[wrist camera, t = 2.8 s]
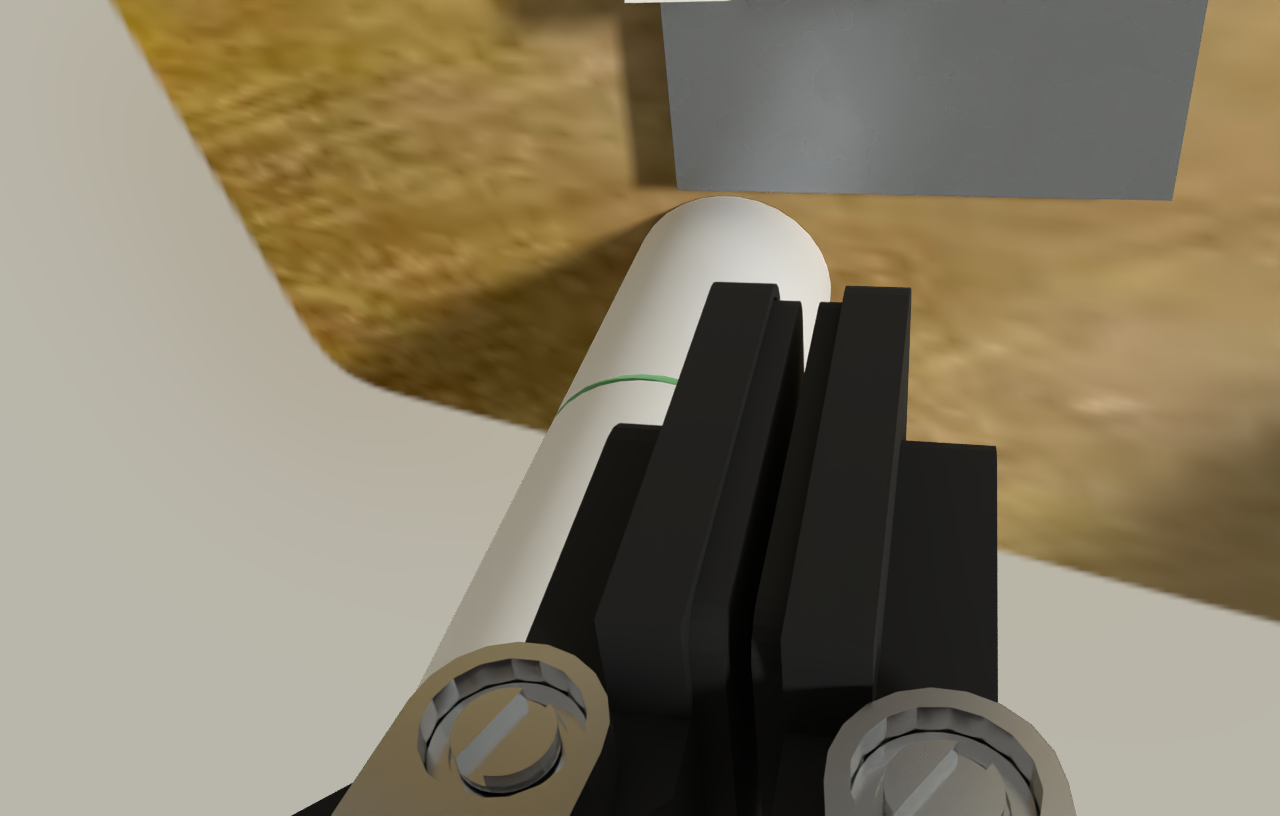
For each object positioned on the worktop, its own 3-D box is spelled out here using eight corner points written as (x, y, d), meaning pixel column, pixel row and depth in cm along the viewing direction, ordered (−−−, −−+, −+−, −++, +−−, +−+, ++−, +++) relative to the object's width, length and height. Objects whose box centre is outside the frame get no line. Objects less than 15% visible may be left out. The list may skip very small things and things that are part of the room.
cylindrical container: (652, 365, 46) (388, 992, 27) (620, 199, 42) (281, 798, 23) (837, 367, 44) (693, 1048, 25) (822, 191, 40) (635, 845, 21)
